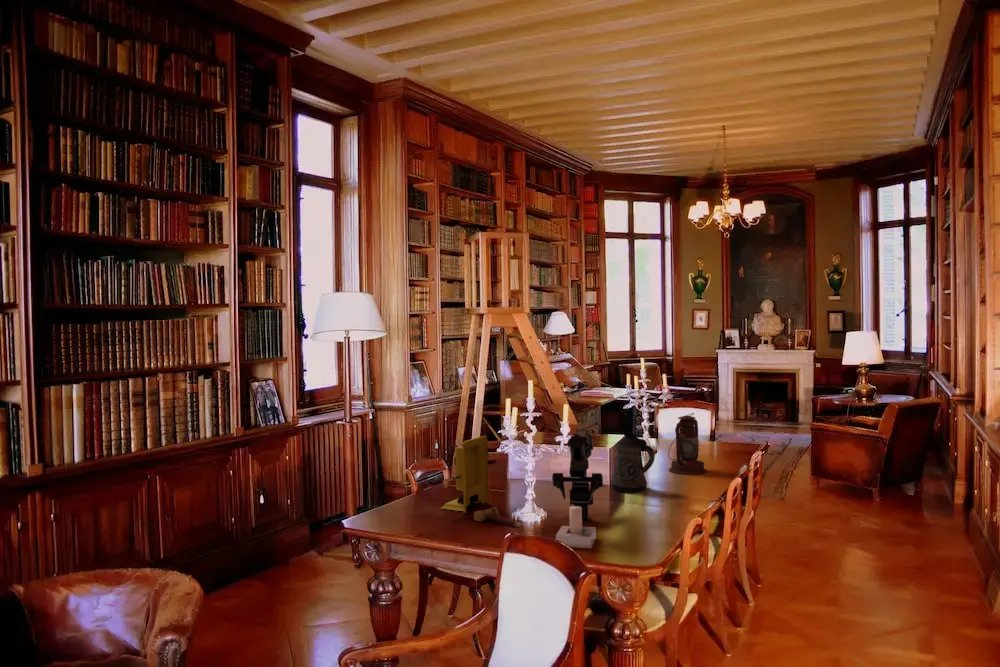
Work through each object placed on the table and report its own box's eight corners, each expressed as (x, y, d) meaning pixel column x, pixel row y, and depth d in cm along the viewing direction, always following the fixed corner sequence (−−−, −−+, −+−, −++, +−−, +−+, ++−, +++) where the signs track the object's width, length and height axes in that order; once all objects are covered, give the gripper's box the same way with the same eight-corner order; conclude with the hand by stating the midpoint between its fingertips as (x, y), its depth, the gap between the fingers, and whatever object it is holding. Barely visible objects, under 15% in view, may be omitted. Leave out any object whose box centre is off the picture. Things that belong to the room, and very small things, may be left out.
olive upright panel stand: (471, 496, 353) (470, 430, 352) (498, 500, 346) (496, 432, 345) (431, 513, 326) (429, 441, 325) (458, 516, 319) (456, 443, 318)
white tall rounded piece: (574, 539, 284) (573, 505, 283) (584, 541, 281) (584, 507, 280) (567, 542, 280) (566, 508, 280) (578, 544, 277) (577, 509, 277)
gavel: (528, 517, 304) (509, 523, 297) (527, 529, 304) (509, 535, 298) (491, 505, 319) (473, 510, 312) (491, 516, 320) (473, 521, 313)
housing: (562, 536, 288) (562, 525, 288) (595, 538, 285) (595, 527, 285) (556, 546, 276) (555, 535, 276) (591, 548, 273) (590, 537, 273)
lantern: (684, 465, 411) (683, 409, 410) (714, 471, 396) (713, 412, 396) (661, 471, 399) (660, 412, 398) (691, 476, 384) (690, 416, 384)
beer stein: (608, 485, 369) (607, 433, 368) (648, 484, 370) (647, 431, 369) (614, 493, 353) (613, 438, 352) (657, 492, 353) (656, 437, 353)
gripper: (552, 451, 294) (550, 487, 283) (602, 451, 291) (601, 488, 281) (554, 468, 302) (552, 503, 292) (602, 468, 299) (602, 504, 289)
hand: (577, 499), depth 288 cm, fingers open, 9 cm apart
